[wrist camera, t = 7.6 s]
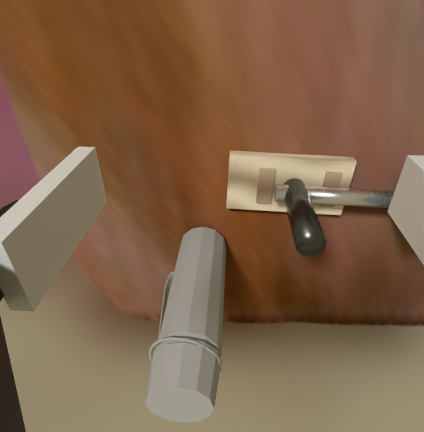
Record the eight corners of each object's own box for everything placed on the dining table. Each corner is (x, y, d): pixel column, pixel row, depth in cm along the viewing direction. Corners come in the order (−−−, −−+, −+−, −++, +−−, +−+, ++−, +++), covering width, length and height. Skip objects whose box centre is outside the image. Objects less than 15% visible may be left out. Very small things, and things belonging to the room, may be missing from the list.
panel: (229, 150, 43) (229, 156, 41) (353, 157, 42) (358, 163, 40) (226, 202, 47) (226, 210, 45) (338, 209, 46) (342, 217, 45)
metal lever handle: (270, 205, 46) (280, 269, 35) (277, 159, 42) (291, 214, 31) (402, 213, 45) (455, 280, 34) (421, 166, 41) (489, 226, 30)
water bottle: (211, 215, 48) (192, 375, 27) (235, 251, 52) (234, 418, 31) (161, 237, 51) (108, 397, 30) (187, 270, 55) (156, 434, 34)
